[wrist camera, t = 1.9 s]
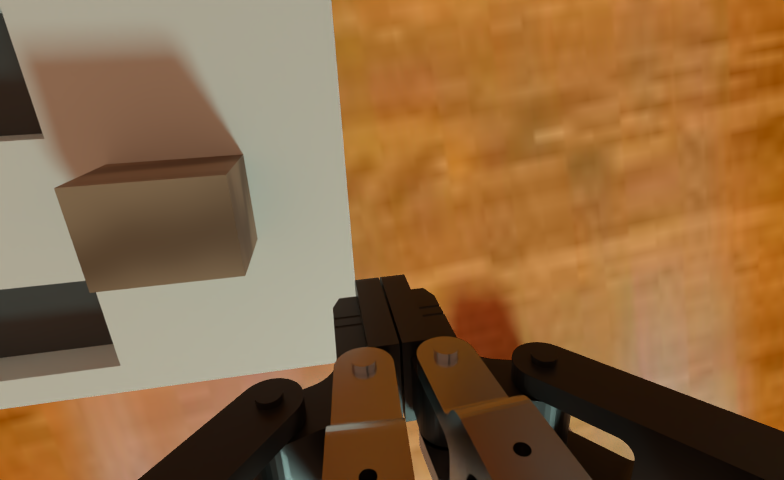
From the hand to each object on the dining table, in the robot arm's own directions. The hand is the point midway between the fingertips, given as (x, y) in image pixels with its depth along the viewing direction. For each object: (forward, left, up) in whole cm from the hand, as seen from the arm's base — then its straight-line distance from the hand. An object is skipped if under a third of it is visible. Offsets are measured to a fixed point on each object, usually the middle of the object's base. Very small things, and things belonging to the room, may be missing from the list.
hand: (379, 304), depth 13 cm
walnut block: (0, -9, -14) cm, 16 cm away
